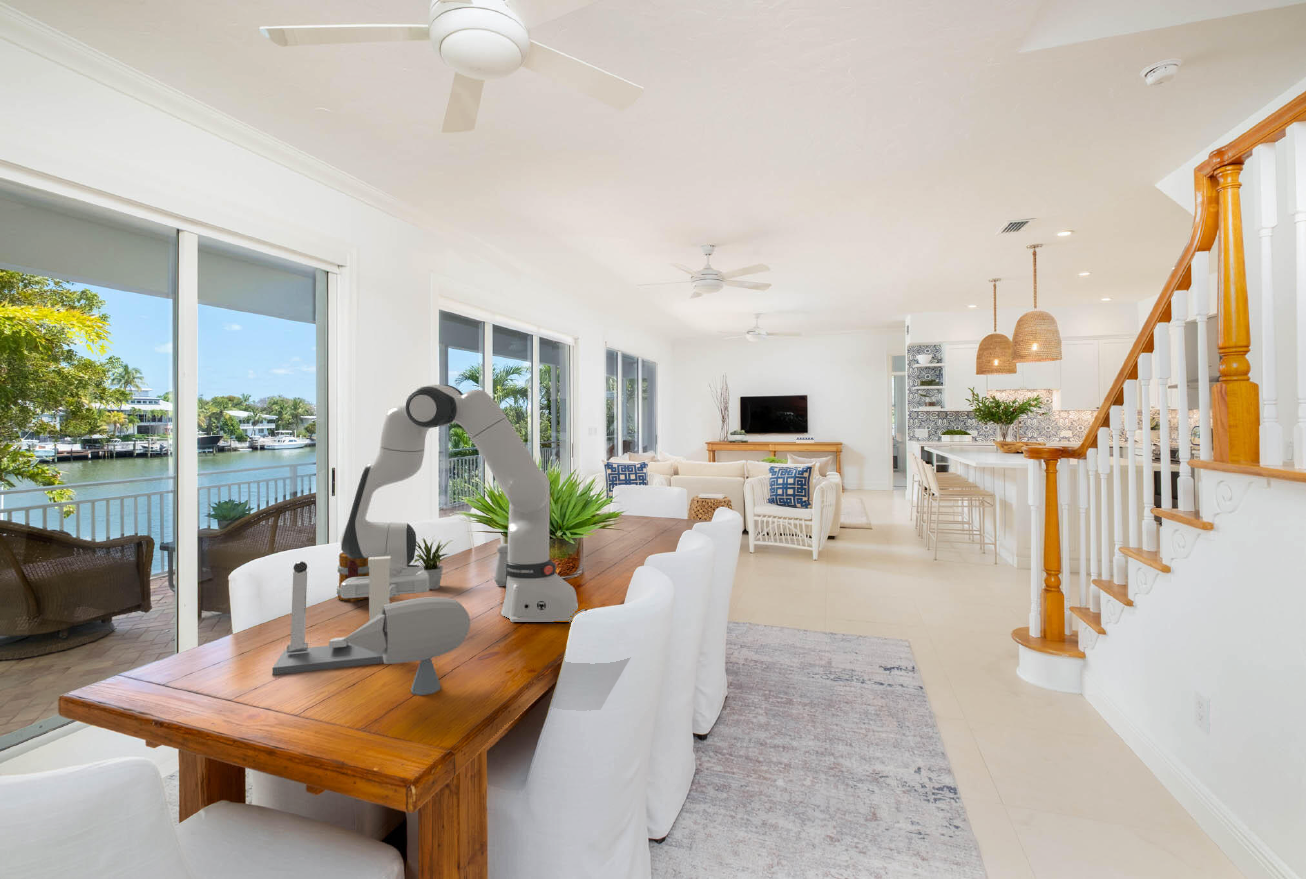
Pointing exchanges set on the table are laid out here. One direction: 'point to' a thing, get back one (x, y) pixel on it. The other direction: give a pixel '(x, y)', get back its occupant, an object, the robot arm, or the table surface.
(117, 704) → the table surface
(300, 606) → the steel toggle lever
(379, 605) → the beige rectangular bar
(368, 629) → the jet engine
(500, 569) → the salt shaker
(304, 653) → the console
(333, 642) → the block
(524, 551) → the robot arm
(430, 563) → the house plant
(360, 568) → the mug
